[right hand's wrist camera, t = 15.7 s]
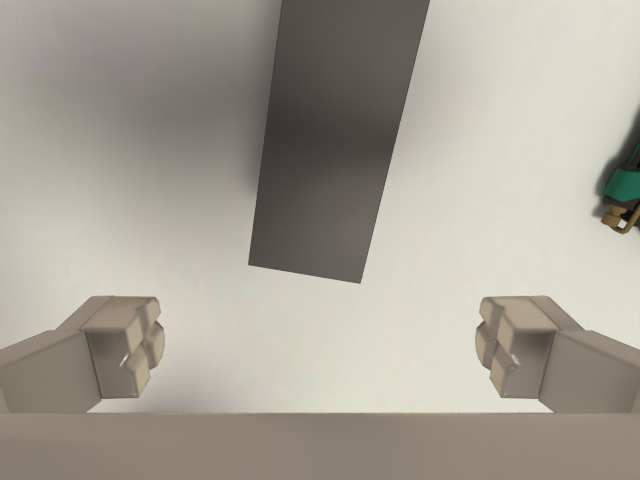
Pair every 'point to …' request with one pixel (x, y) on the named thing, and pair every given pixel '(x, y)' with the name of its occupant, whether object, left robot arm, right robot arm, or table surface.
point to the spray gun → (624, 195)
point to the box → (332, 131)
